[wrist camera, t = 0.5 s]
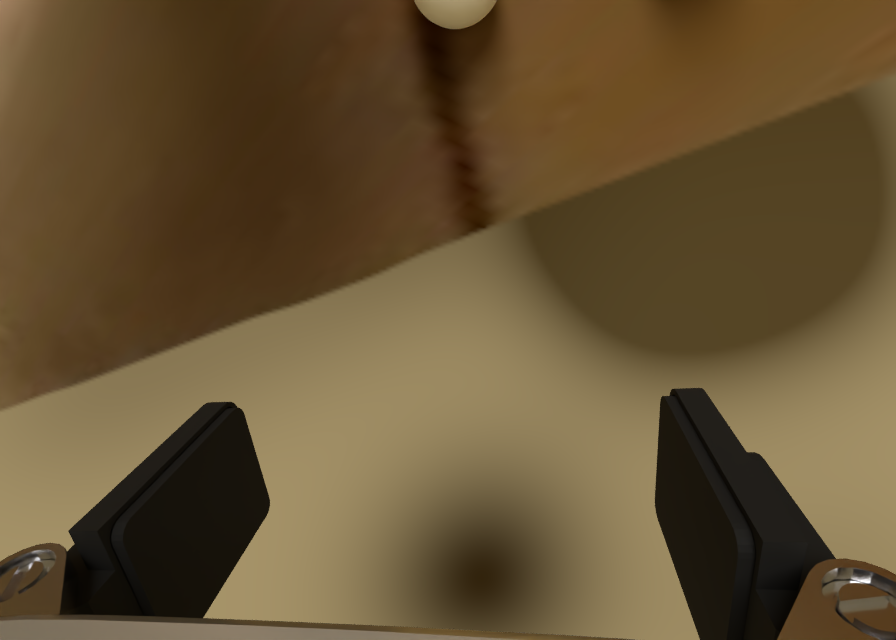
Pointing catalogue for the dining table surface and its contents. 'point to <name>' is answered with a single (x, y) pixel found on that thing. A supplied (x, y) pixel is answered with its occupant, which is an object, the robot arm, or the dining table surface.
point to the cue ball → (455, 11)
